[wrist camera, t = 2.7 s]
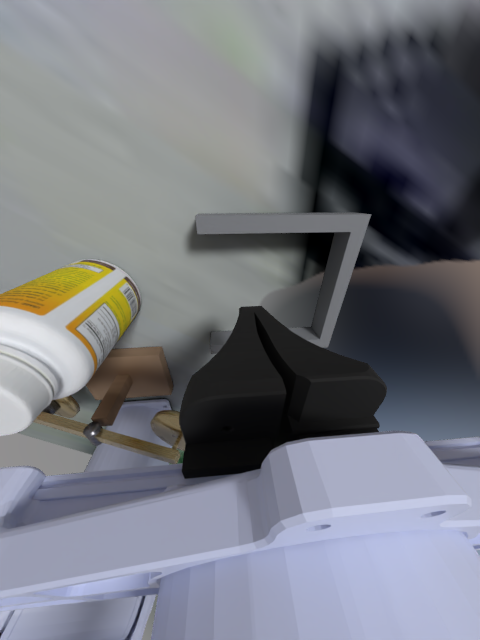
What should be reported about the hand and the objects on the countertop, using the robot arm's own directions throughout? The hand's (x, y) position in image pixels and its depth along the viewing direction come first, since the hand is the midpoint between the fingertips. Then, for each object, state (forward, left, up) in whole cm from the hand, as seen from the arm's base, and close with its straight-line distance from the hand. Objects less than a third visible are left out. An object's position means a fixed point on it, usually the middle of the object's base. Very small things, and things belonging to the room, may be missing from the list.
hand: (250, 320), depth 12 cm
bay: (0, -2, -5) cm, 6 cm away
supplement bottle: (0, +11, -6) cm, 12 cm away
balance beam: (-9, +11, -1) cm, 15 cm away
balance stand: (-9, +12, -5) cm, 16 cm away
